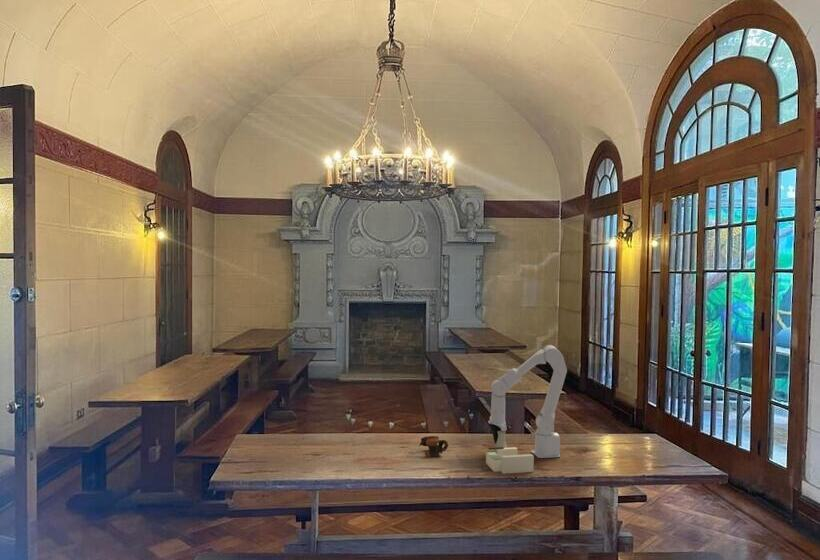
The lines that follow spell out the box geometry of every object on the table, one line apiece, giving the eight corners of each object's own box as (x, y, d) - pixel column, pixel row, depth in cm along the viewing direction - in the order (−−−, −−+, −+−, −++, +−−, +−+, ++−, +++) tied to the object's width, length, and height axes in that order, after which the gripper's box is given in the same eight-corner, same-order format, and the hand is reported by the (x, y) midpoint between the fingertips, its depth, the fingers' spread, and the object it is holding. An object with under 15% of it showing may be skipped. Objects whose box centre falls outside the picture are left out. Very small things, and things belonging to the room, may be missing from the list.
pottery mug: (417, 458, 230) (415, 437, 234) (424, 462, 238) (422, 441, 242) (447, 453, 227) (444, 432, 231) (453, 457, 235) (450, 436, 239)
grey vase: (509, 460, 228) (510, 435, 228) (491, 458, 230) (491, 433, 229) (510, 454, 235) (510, 429, 235) (492, 452, 237) (492, 428, 236)
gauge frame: (521, 461, 227) (521, 445, 227) (533, 471, 216) (533, 455, 216) (485, 463, 224) (486, 447, 224) (496, 474, 213) (496, 458, 213)
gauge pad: (515, 459, 228) (516, 445, 227) (517, 461, 226) (517, 447, 226) (487, 461, 225) (488, 447, 225) (489, 462, 224) (489, 448, 223)
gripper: (482, 405, 242) (482, 438, 243) (494, 415, 228) (494, 449, 229) (499, 405, 244) (498, 437, 244) (511, 414, 229) (511, 448, 230)
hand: (497, 443), depth 236 cm, fingers closed
